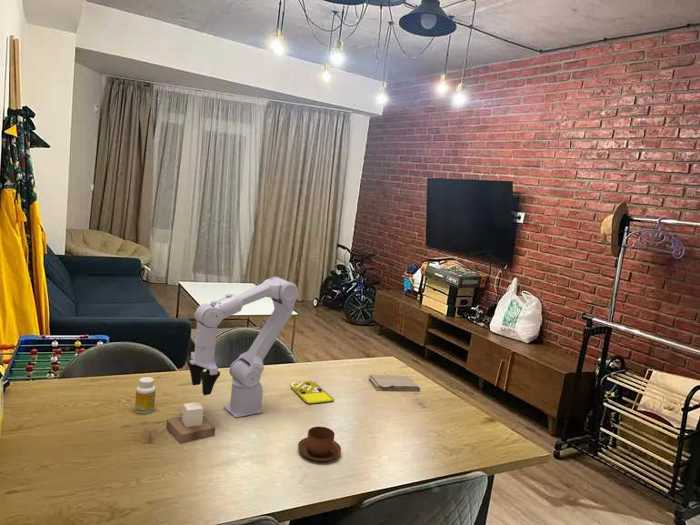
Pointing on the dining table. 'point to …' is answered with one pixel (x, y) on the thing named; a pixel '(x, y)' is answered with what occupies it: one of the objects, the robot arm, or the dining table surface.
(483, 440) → the dining table surface
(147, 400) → the supplement bottle
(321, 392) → the game console
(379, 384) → the washcloth
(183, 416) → the white block
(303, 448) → the cup and saucer
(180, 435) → the walnut block
